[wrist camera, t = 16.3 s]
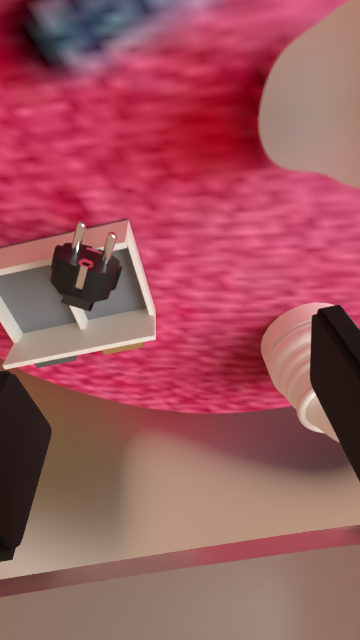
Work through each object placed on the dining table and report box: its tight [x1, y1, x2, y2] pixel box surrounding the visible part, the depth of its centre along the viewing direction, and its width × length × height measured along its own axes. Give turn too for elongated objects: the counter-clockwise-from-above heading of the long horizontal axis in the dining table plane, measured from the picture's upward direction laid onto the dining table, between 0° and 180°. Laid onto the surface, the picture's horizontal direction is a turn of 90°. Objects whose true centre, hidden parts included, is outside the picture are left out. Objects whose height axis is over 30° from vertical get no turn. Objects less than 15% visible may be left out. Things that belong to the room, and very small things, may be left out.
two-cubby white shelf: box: [0, 219, 156, 369], centre depth 38 cm, size 12×18×6 cm, turn 101°
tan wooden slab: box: [102, 342, 144, 355], centre depth 43 cm, size 1×5×4 cm, turn 102°
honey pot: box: [261, 303, 357, 442], centre depth 41 cm, size 13×13×18 cm
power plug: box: [50, 221, 123, 312], centre depth 32 cm, size 6×8×12 cm
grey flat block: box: [35, 355, 77, 368], centre depth 44 cm, size 1×5×4 cm, turn 102°
